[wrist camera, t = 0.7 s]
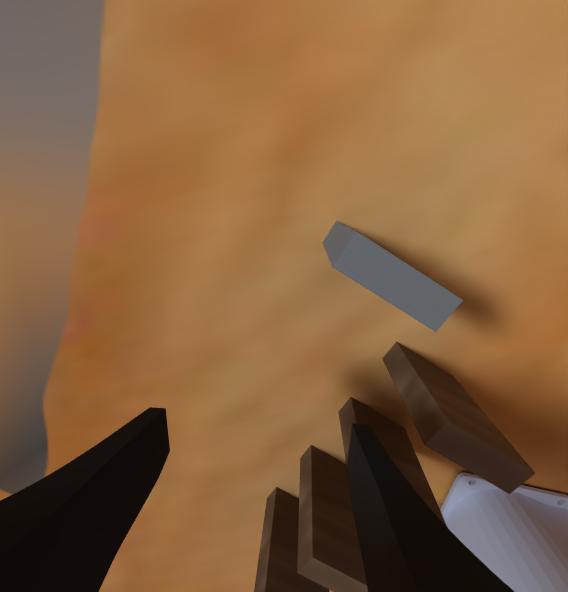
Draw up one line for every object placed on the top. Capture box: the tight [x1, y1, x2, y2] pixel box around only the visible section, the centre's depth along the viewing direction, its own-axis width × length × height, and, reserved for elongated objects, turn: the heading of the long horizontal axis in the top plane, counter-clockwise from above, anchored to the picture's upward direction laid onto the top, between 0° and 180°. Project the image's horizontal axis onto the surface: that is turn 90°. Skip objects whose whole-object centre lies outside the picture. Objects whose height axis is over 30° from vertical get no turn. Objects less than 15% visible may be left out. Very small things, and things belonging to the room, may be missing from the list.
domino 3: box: [323, 221, 463, 332], centre depth 15 cm, size 2×5×8 cm, turn 59°
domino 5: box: [383, 342, 535, 494], centre depth 17 cm, size 2×5×8 cm, turn 59°
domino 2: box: [297, 445, 368, 592], centre depth 21 cm, size 2×5×8 cm, turn 59°
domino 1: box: [254, 487, 329, 592], centre depth 22 cm, size 2×5×8 cm, turn 59°
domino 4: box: [339, 397, 448, 528], centre depth 19 cm, size 2×5×8 cm, turn 59°
